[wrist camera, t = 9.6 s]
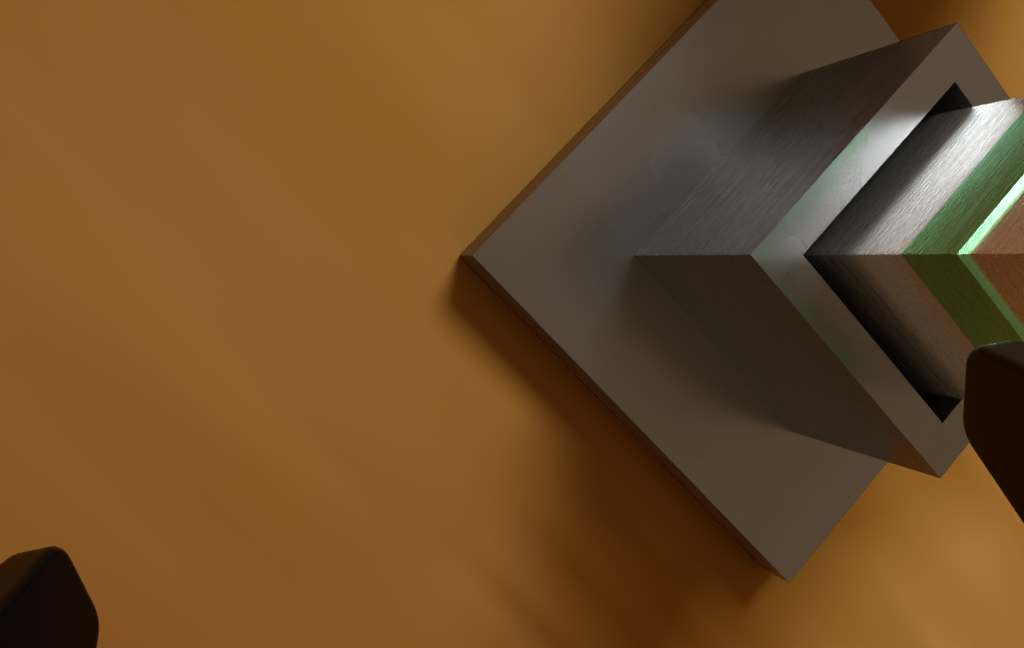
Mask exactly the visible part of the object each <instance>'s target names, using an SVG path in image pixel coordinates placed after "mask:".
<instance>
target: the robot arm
mask: <svg viewBox="0 0 1024 648" xmlns="http://www.w3.org/2000/svg"><path fill="white" fill-rule="evenodd" d="M963 424H964V429H965V433H966V435H967V438H968V440H969V442H970V444H971V445H972V447H973V449H974V450H975V451H976V453H977V454H978V456H979V457H980V459H981V460H982V462H983V463H984V465H985V466H986V468H987V469H988V471H989V472H990V474H991V475H992V477H993V478H994V480H995V481H996V483H997V484H998V486H999V487H1000V489H1001V490H1002V492H1003V493H1004V495H1005V496H1006V498H1007V499H1008V501H1009V502H1010V504H1011V505H1012V507H1013V508H1014V510H1015V511H1016V513H1017V514H1018V515H1019V517H1020V518H1021V520H1022V521H1023V523H1024V342H1022V341H1017V340H1009V341H1004V342H999V343H994V344H990V345H985V346H981V347H977V348H975V349H974V350H973V351H972V352H971V353H970V354H969V356H968V358H967V363H966V374H965V391H964V408H963ZM98 634H99V622H98V616H97V612H96V609H95V606H94V604H93V602H92V600H91V598H90V596H89V594H88V592H87V590H86V588H85V586H84V584H83V582H82V580H81V578H80V576H79V574H78V573H77V571H76V569H75V567H74V565H73V563H72V561H71V559H70V557H69V556H68V554H67V553H66V552H65V551H64V550H63V549H61V548H59V547H56V546H51V547H46V548H41V549H36V550H32V551H27V552H22V553H18V554H16V555H13V556H11V557H10V558H8V559H7V560H6V561H4V562H3V563H2V564H0V648H96V647H97V641H98Z"/></svg>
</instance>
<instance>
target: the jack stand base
mask: <svg viewBox="0 0 1024 648" xmlns="http://www.w3.org/2000/svg"><path fill="white" fill-rule="evenodd" d="M1009 99H1010V98H1009V97H1008V95H1007V94H1006V92H1005V91H1004V89H1003V88H1002V86H1001V85H1000V84H999V82H998V81H997V79H996V78H995V76H994V75H993V74H992V72H991V71H990V69H989V68H988V66H987V65H986V63H985V62H984V61H983V59H982V58H981V56H980V55H979V53H978V52H977V51H976V49H975V48H974V46H973V45H972V43H971V42H970V40H969V39H968V38H967V36H966V35H965V33H964V32H963V30H962V29H961V28H960V26H959V25H958V23H955V24H952V25H949V26H946V27H943V28H939V29H936V30H933V31H930V32H927V33H924V34H921V35H918V36H915V37H912V38H909V39H906V40H903V41H900V40H899V39H898V38H897V36H896V35H895V34H894V32H893V31H892V29H891V28H890V27H889V25H888V24H887V22H886V21H885V20H884V18H883V17H882V16H881V14H880V13H879V11H878V10H877V9H876V7H875V6H874V4H873V3H872V2H871V0H706V1H705V2H704V3H703V4H702V5H701V6H700V7H699V8H698V9H697V10H696V11H695V12H694V13H693V14H692V15H691V16H690V17H689V18H688V19H687V20H686V21H685V22H684V23H683V24H682V25H681V26H680V27H679V28H678V30H677V31H676V32H675V33H674V34H673V35H672V36H671V37H670V38H669V39H668V40H667V41H666V42H665V43H664V44H663V45H662V46H661V47H660V48H659V49H658V50H657V51H656V52H655V53H654V54H653V55H652V56H651V58H650V59H649V60H648V61H647V62H646V63H645V64H644V65H643V66H642V67H641V68H640V69H639V70H638V71H637V72H636V73H635V74H634V75H633V76H632V77H631V78H630V79H629V80H628V81H627V82H626V83H625V84H624V85H623V87H622V88H621V89H620V90H619V91H618V92H617V93H616V94H615V95H614V96H613V97H612V98H611V99H610V100H609V101H608V102H607V103H606V104H605V105H604V106H603V107H602V108H601V109H600V110H599V111H598V112H597V113H596V115H595V116H594V117H593V118H592V119H591V120H590V121H589V122H588V123H587V124H586V125H585V126H584V127H583V128H582V129H581V130H580V131H579V132H578V133H577V134H576V135H575V136H574V137H573V138H572V139H571V140H570V141H569V142H568V144H567V145H566V146H565V147H564V148H563V149H562V150H561V151H560V152H559V153H558V154H557V155H556V156H555V157H554V158H553V159H552V160H551V161H550V162H549V163H548V164H547V165H546V166H545V167H544V168H543V169H542V170H541V172H540V173H539V174H538V175H537V176H536V177H535V178H534V179H533V180H532V181H531V182H530V183H529V184H528V185H527V186H526V187H525V188H524V189H523V190H522V191H521V192H520V193H519V194H518V195H517V196H516V197H515V198H514V199H513V201H512V202H511V203H510V204H509V205H508V206H507V207H506V208H505V209H504V210H503V211H502V212H501V213H500V214H499V215H498V216H497V217H496V218H495V219H494V220H493V221H492V222H491V223H490V224H489V225H488V226H487V227H486V229H485V230H484V231H483V232H482V233H481V234H480V235H479V236H478V237H477V238H476V239H475V240H474V241H473V242H472V243H471V244H470V245H469V246H468V247H467V248H466V249H465V250H464V251H463V252H462V253H461V254H460V255H459V256H460V257H461V258H462V259H463V260H464V261H465V262H466V263H467V264H468V265H469V266H470V267H471V268H472V269H473V270H474V271H475V272H476V273H477V274H478V275H479V276H480V277H481V278H482V279H483V280H484V281H485V282H486V283H487V284H488V285H489V286H490V287H491V288H492V289H493V290H494V291H495V293H496V294H497V295H498V296H499V297H500V298H501V299H502V300H503V301H504V302H505V303H506V304H507V305H508V306H509V307H510V308H511V309H512V310H513V311H514V312H515V313H516V314H517V315H518V316H519V317H520V318H521V319H522V320H523V321H524V322H525V323H526V324H527V325H528V326H529V327H530V328H531V330H532V331H533V332H534V333H535V334H536V335H537V336H538V337H539V338H540V339H541V340H542V341H543V342H544V343H545V344H546V345H547V346H548V347H549V348H550V349H551V350H552V351H553V352H554V353H555V354H556V355H557V356H558V357H559V358H560V359H561V360H562V361H563V362H564V363H565V364H566V365H567V367H568V368H569V369H570V370H571V371H572V372H573V373H574V374H575V375H576V376H577V377H578V378H579V379H580V380H581V381H582V382H583V383H584V384H585V385H586V386H587V387H588V388H589V389H590V390H591V391H592V392H593V393H594V394H595V395H596V396H597V397H598V398H599V399H600V400H601V401H602V402H603V404H604V405H605V406H606V407H607V408H608V409H609V410H610V411H611V412H612V413H613V414H614V415H615V416H616V417H617V418H618V419H619V420H620V421H621V422H622V423H623V424H624V425H625V426H626V427H627V428H628V429H629V430H630V431H631V432H632V433H633V434H634V435H635V436H636V437H637V438H638V439H639V441H640V442H641V443H642V444H643V445H644V446H645V447H646V448H647V449H648V450H649V451H650V452H651V453H652V454H653V455H654V456H655V457H656V458H657V459H658V460H659V461H660V462H661V463H662V464H663V465H664V466H665V467H666V468H667V469H668V470H669V471H670V472H671V473H672V474H673V475H674V476H675V478H676V479H677V480H678V481H679V482H680V483H681V484H682V485H683V486H684V487H685V488H686V489H687V490H688V491H689V492H690V493H691V494H692V495H693V496H694V497H695V498H696V499H697V500H698V501H699V502H700V503H701V504H702V505H703V506H704V507H705V508H706V509H707V510H708V511H709V512H710V513H711V515H712V516H713V517H714V518H715V519H716V520H717V521H718V522H719V523H720V524H721V525H722V526H723V527H724V528H725V529H726V530H727V531H728V532H729V533H730V534H731V535H732V536H733V537H734V538H735V539H736V540H737V541H738V542H739V543H740V544H741V545H742V546H743V547H744V548H745V549H746V550H747V552H748V553H749V554H750V555H751V556H752V557H753V558H754V559H755V560H756V561H757V562H758V563H759V564H760V565H761V566H762V567H763V568H765V569H767V570H768V571H770V572H772V573H774V574H775V575H777V576H779V577H780V578H782V579H784V580H786V581H787V582H790V581H791V580H792V578H793V577H794V576H795V575H796V573H797V572H798V571H799V570H800V569H801V567H802V566H803V565H804V564H805V562H806V561H807V560H808V559H809V557H810V556H811V555H812V554H813V553H814V551H815V550H816V549H817V548H818V546H819V545H820V544H821V543H822V541H823V540H824V539H825V538H826V537H827V535H828V534H829V533H830V532H831V530H832V529H833V528H834V527H835V526H836V524H837V523H838V522H839V521H840V519H841V518H842V517H843V516H844V514H845V513H846V512H847V511H848V510H849V508H850V507H851V506H852V505H853V503H854V502H855V501H856V500H857V498H858V497H859V496H860V495H861V494H862V492H863V491H864V490H865V489H866V487H867V486H868V485H869V484H870V483H871V481H872V480H873V479H874V478H875V476H876V475H877V474H878V473H879V471H880V470H881V469H882V468H883V467H884V465H885V464H886V463H887V462H890V463H893V464H896V465H899V466H903V467H906V468H909V469H912V470H916V471H919V472H922V473H925V474H928V475H932V476H935V477H938V478H941V477H942V476H943V475H944V473H945V472H946V471H947V470H948V468H949V467H950V466H951V465H952V463H953V462H954V461H955V460H956V458H957V457H958V456H959V455H960V453H961V452H962V451H963V450H964V448H965V447H966V446H967V445H968V443H969V440H968V438H967V435H966V433H965V429H964V424H963V408H964V399H959V398H954V397H949V396H944V395H938V394H933V393H928V392H923V391H918V390H915V389H914V388H913V387H912V386H911V384H910V383H909V382H908V381H907V380H906V378H905V377H904V376H903V375H902V374H901V372H900V371H899V370H898V369H897V368H896V366H895V365H894V364H893V363H892V362H891V360H890V359H889V358H888V357H887V356H886V354H885V353H884V352H883V351H882V349H881V348H880V347H879V346H878V345H877V343H876V342H875V341H874V340H873V339H872V337H871V336H870V335H869V334H868V333H867V331H866V330H865V329H864V328H863V327H862V325H861V324H860V323H859V322H858V321H857V319H856V318H855V317H854V316H853V314H852V313H851V312H850V311H849V310H848V308H847V307H846V306H845V305H844V304H843V302H842V301H841V300H840V299H839V298H838V296H837V295H836V294H835V293H834V292H833V290H832V289H831V288H830V287H829V285H828V284H827V283H826V282H825V281H824V279H823V278H822V277H821V276H820V275H819V273H818V272H817V271H816V270H815V269H814V267H813V266H812V265H811V264H810V263H809V261H808V260H807V259H806V258H805V257H804V255H803V254H804V253H805V252H806V251H807V250H808V248H809V247H810V246H811V245H812V244H813V243H814V242H815V241H816V239H817V238H818V237H819V236H820V235H821V234H822V233H823V231H824V230H825V229H826V228H827V227H828V226H829V225H830V223H831V222H832V221H833V220H834V219H835V218H836V217H837V215H838V214H839V213H840V212H841V211H842V210H843V209H844V207H845V206H846V205H847V204H848V203H849V202H850V201H851V200H852V198H853V197H854V196H855V195H856V194H857V193H858V192H859V190H860V189H861V188H862V187H863V186H864V185H865V184H866V182H867V181H868V180H869V179H870V178H871V177H872V176H873V174H874V173H875V172H876V171H877V170H878V169H879V168H880V166H881V165H882V164H883V163H884V162H885V161H886V160H887V159H888V157H889V156H890V155H891V154H892V153H893V152H894V151H895V149H896V148H897V147H898V146H899V145H900V144H901V143H902V141H903V140H904V139H905V138H906V137H907V136H908V135H909V133H910V132H911V131H912V130H913V129H914V128H915V127H916V125H917V124H918V123H919V122H920V121H921V120H922V119H923V118H924V117H926V116H931V115H936V114H941V113H946V112H951V111H956V110H961V109H965V108H970V107H975V106H980V105H985V104H990V103H995V102H1000V101H1005V100H1009Z"/></svg>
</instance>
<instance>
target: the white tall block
mask: <svg viewBox="0 0 1024 648" xmlns="http://www.w3.org/2000/svg"><path fill="white" fill-rule="evenodd" d="M803 255H804V257H805V258H806V259H807V260H808V261H809V263H810V264H811V265H812V266H813V267H814V269H815V270H816V271H817V272H818V273H819V275H820V276H821V277H822V278H823V279H824V281H825V282H826V283H827V284H828V285H829V287H830V288H831V289H832V290H833V292H834V293H835V294H836V295H837V296H838V298H839V299H840V300H841V301H842V302H843V304H844V305H845V306H846V307H847V308H848V310H849V311H850V312H851V313H852V314H853V316H854V317H855V318H856V319H857V321H858V322H859V323H860V324H861V325H862V327H863V328H864V329H865V330H866V331H867V333H868V334H869V335H870V336H871V337H872V339H873V340H874V341H875V342H876V343H877V345H878V346H879V347H880V348H881V349H882V351H883V352H884V353H885V354H886V356H887V357H888V358H889V359H890V360H891V362H892V363H893V364H894V365H895V366H896V368H897V369H898V370H899V371H900V372H901V374H902V375H903V376H904V377H905V378H906V380H907V381H908V382H909V383H910V384H911V386H912V387H913V388H914V389H915V390H918V391H923V392H928V393H933V394H938V395H944V396H949V397H954V398H959V399H964V391H965V374H966V363H967V358H968V356H969V354H970V353H971V352H972V351H973V350H974V349H975V348H977V347H981V346H985V345H990V344H994V343H999V342H1004V341H1009V340H1017V341H1022V342H1024V97H1019V98H1014V99H1009V100H1005V101H1000V102H995V103H990V104H985V105H980V106H975V107H970V108H965V109H961V110H956V111H951V112H946V113H941V114H936V115H931V116H926V117H924V118H923V119H922V120H921V121H920V122H919V123H918V124H917V125H916V127H915V128H914V129H913V130H912V131H911V132H910V133H909V135H908V136H907V137H906V138H905V139H904V140H903V141H902V143H901V144H900V145H899V146H898V147H897V148H896V149H895V151H894V152H893V153H892V154H891V155H890V156H889V157H888V159H887V160H886V161H885V162H884V163H883V164H882V165H881V166H880V168H879V169H878V170H877V171H876V172H875V173H874V174H873V176H872V177H871V178H870V179H869V180H868V181H867V182H866V184H865V185H864V186H863V187H862V188H861V189H860V190H859V192H858V193H857V194H856V195H855V196H854V197H853V198H852V200H851V201H850V202H849V203H848V204H847V205H846V206H845V207H844V209H843V210H842V211H841V212H840V213H839V214H838V215H837V217H836V218H835V219H834V220H833V221H832V222H831V223H830V225H829V226H828V227H827V228H826V229H825V230H824V231H823V233H822V234H821V235H820V236H819V237H818V238H817V239H816V241H815V242H814V243H813V244H812V245H811V246H810V247H809V248H808V250H807V251H806V252H805V253H804V254H803Z"/></svg>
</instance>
